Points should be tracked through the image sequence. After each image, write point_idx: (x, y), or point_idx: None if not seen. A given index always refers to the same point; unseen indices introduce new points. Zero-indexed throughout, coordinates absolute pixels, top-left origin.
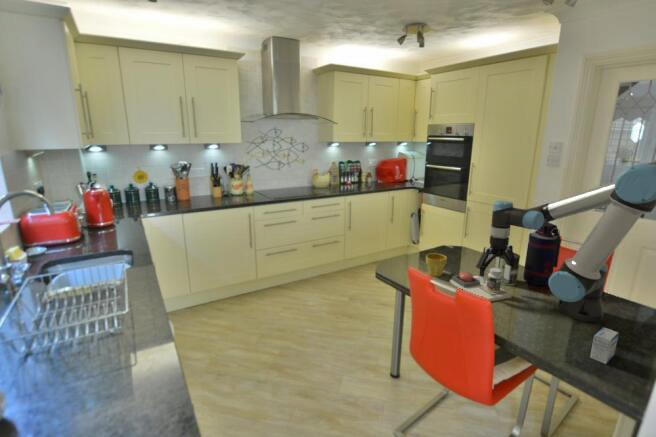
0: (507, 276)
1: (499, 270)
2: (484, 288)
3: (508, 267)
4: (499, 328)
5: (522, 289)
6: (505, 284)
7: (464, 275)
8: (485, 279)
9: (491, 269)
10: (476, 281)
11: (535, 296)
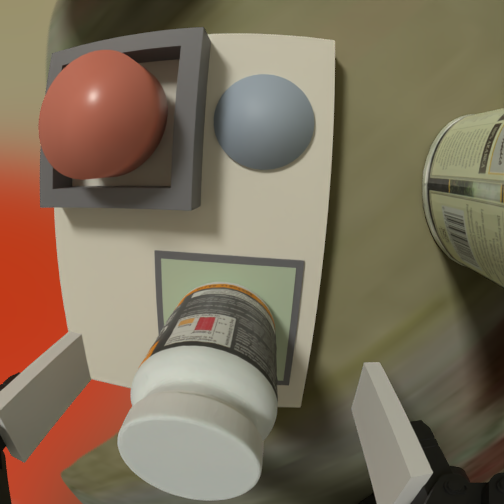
0: (361, 418)
1: (224, 487)
2: (181, 281)
3: (384, 497)
4: (68, 469)
5: (461, 332)
6: (439, 245)
7: (61, 126)
8: (67, 402)
9: (137, 441)
10: (150, 205)
11: (428, 410)
